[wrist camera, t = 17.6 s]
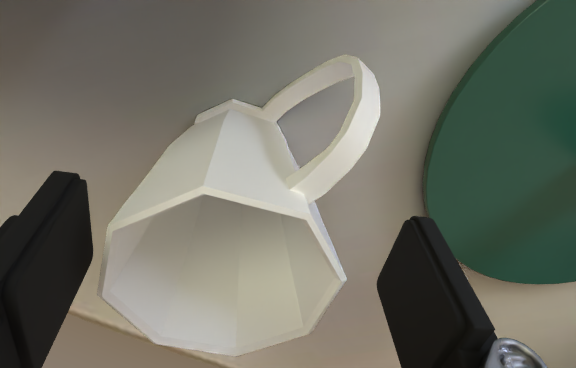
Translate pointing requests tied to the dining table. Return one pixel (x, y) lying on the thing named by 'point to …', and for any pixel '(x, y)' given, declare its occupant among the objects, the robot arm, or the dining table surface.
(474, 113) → the pot lid
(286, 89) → the cup
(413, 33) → the dining table surface
